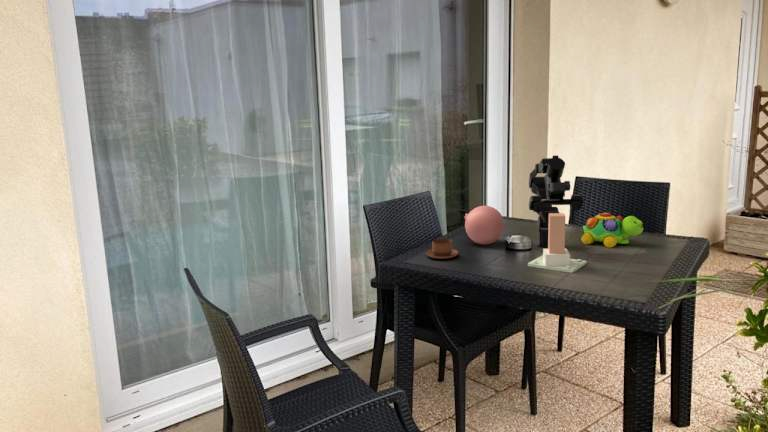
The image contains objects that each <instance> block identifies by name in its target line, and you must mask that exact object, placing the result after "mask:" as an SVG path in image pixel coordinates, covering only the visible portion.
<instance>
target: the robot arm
mask: <svg viewBox="0 0 768 432" xmlns="http://www.w3.org/2000/svg"><path fill="white" fill-rule="evenodd" d="M565 166H566V162H565V160H563V159H562V157H561V158H560V157H559V155H552V156H551V157H548V158H543V157H542V159H541V160H540V161H539V163H536V164H535V165H534V169H532V171H531V172H530V173H529V177H528V188H529V189H530V192H531V193H532V194H534V195H531V196H530V197H529V202H528V210H530V211H533V212H535V213H536V214H537V215H538V218H537V221H536V230H537V232H539V240H538V241H539V244H537V248H545V249H548V224H549V213H560V211H559V208H558V207H557V206H569V220H570V223H573V221H574V216H575V212H578V211H579V210H581V209H582V207H583V205H584V201H585V199H584V198H585V197H584V196H583V195H582V194H571V196H570V198H565V195H566V192H567V191H570V190H571V181H570V180H564V182H562V181H561V179H562V177H563V174H564V169H565ZM538 174H545V175H544V176H538Z"/></svg>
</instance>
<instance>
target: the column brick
mask: <svg viewBox="0 0 768 432" xmlns="http://www.w3.org/2000/svg"><path fill="white" fill-rule="evenodd" d="M565 246H566V215H565V213H564V212H559V213H549V224H548V248H547V249H548V251H549V253H562V254H565V249H566V247H565Z"/></svg>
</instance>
